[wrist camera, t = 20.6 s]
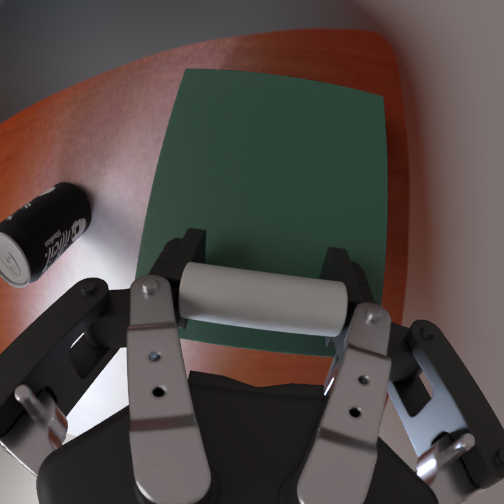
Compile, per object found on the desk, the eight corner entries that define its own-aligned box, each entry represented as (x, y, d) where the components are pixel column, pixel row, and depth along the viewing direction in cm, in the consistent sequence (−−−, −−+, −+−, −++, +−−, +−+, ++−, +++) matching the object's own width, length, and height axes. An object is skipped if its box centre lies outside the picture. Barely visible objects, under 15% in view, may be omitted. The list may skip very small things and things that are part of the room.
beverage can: (80, 171, 29) (7, 220, 19) (103, 223, 32) (44, 287, 22) (44, 190, 30) (-23, 239, 20) (66, 237, 33) (9, 295, 23)
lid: (367, 356, 14) (425, 384, 8) (134, 326, 14) (76, 341, 9) (379, 103, 16) (416, 44, 10) (187, 76, 16) (169, 8, 10)
